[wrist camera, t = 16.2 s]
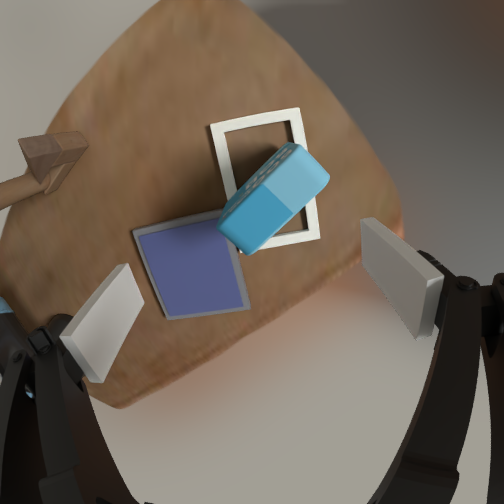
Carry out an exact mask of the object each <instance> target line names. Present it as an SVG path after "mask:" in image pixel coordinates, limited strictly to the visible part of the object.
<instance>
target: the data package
mask: <svg viewBox="0 0 504 504" xmlns="http://www.w3.org/2000/svg"><path fill="white" fill-rule="evenodd" d="M329 179H330V176H329V174H328V173H327V172H326V171H325V170H324V169H323V168H322V166H321V165H320V164H319V163H318V162H317V161H316V160H315V159H314V158H313V157H312V156H311V155H310V154H309V153H308V152H307V151H306V150H305V149H304V147H303V146H302V145H300V144H295V143H290V142H287V143H286V144H284V145H283V146H282V147H281V148H280V149H279V150H278V151H277V152H276V153H275V154H274V155H273V156H272V157H271V158H270V159H269V160H268V161H267V162H265V163H264V164H263V165H262V166H261V167H260V168H259V169H258V170H257V171H256V172H255V173H254V174H253V175H252V176H251V177H250V178H249V179H248V181H247V182H246V183H245V184H244V185H243V186H242V187H241V188H240V189H239V190H238V191H237V192H236V193H235V194H234V195H233V196H232V197H231V198H230V199H229V200H228V202H227V203H226V205H225V207H224V209H223V212H222V214H221V216H220V219H219V221H218V223H217V226H216V229H217V230H218V231H219V232H220V233H221V234H222V235H224V236H225V237H226V238H227V239H228V240H229V241H230V242H232V243H233V244H234V245H235V246H236V247H237V248H238V249H240V250H241V251H242V252H243V253H244V254H245V255H252V254H253V253H255V252H256V251H257V250H258V249H259V248H260V247H261V246H262V245H264V244H265V243H266V242H267V241H268V240H269V239H270V238H271V237H272V236H273V235H274V234H275V233H276V232H277V231H278V230H280V229H281V228H282V227H283V226H284V225H285V224H286V223H287V222H288V221H289V220H290V219H291V218H292V217H293V216H294V215H295V214H297V213H298V212H299V211H300V210H301V209H302V208H303V207H304V206H305V205H306V204H307V203H308V202H309V201H310V200H311V199H313V198H314V197H315V196H316V195H317V194H318V193H319V192H320V191H321V190H322V189H323V188H324V187H325V186H326V184H327V183H328V181H329Z"/></svg>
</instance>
